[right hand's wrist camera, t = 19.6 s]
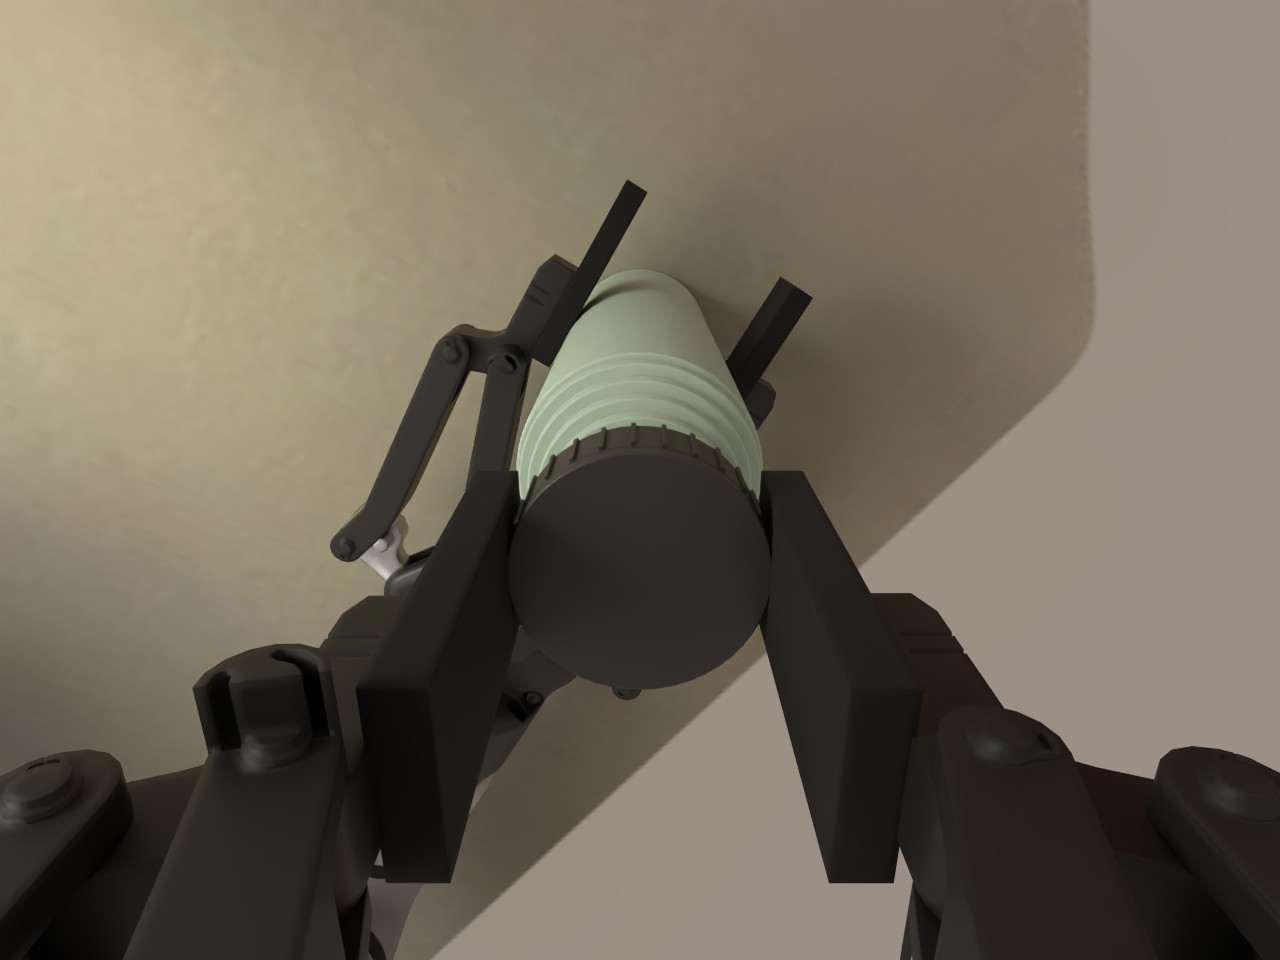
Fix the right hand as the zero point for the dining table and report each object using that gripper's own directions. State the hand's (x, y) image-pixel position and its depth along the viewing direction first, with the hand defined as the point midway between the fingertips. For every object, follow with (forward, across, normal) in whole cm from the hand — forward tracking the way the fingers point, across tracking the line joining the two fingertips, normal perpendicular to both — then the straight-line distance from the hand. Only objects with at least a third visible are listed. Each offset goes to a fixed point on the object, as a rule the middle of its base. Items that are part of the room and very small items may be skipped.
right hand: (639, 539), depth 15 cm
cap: (-1, 0, 0) cm, 1 cm away
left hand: (+14, -3, -4) cm, 15 cm away
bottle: (+20, 0, 0) cm, 20 cm away
